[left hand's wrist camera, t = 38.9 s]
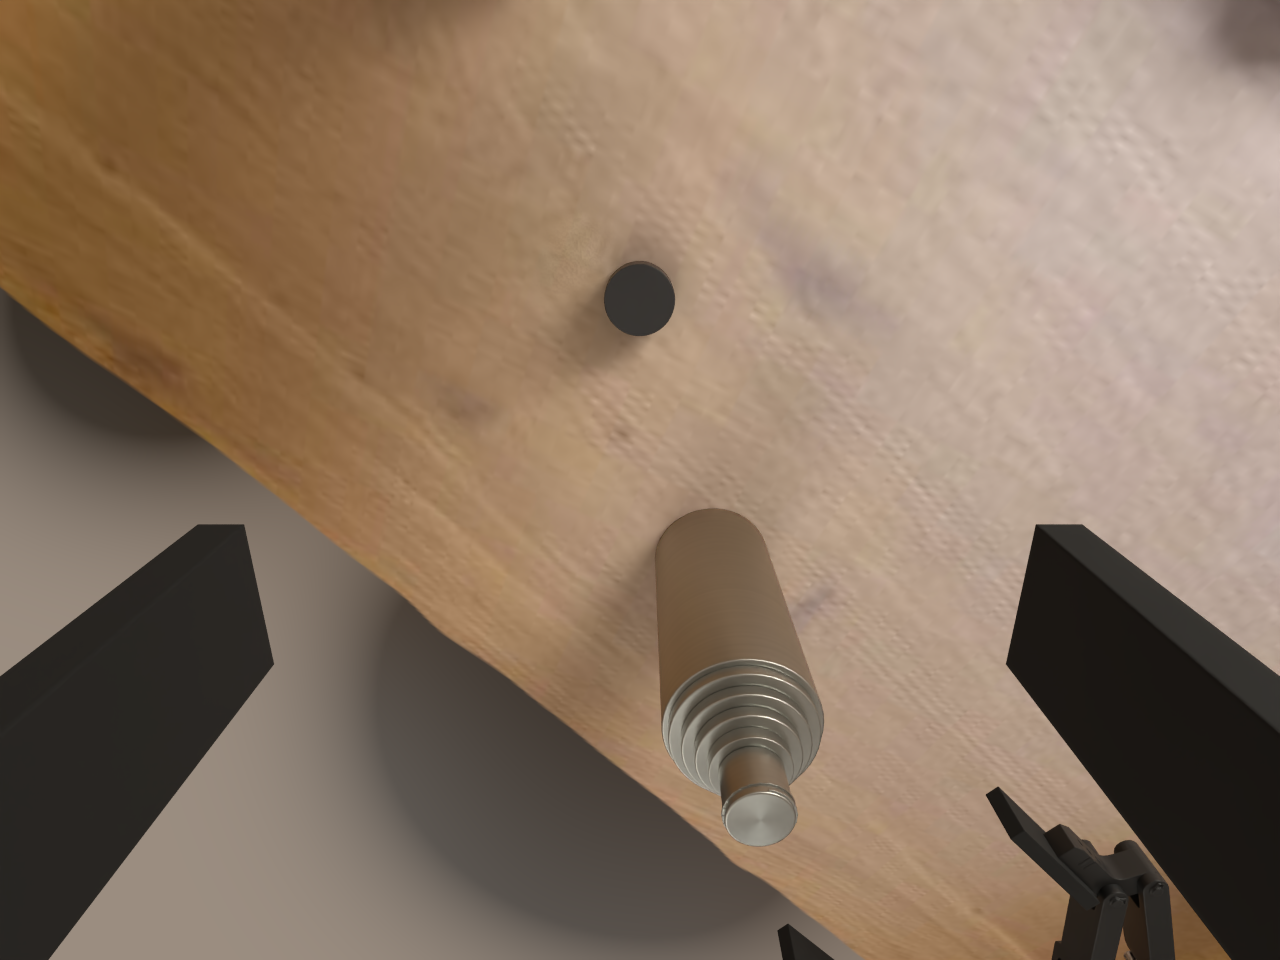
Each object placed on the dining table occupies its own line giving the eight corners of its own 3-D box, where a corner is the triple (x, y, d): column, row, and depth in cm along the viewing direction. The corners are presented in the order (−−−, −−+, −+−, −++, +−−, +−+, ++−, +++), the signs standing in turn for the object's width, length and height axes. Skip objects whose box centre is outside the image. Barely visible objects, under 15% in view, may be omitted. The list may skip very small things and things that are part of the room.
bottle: (743, 620, 56) (811, 907, 34) (640, 590, 55) (640, 865, 33) (784, 527, 53) (888, 773, 31) (676, 494, 52) (703, 723, 30)
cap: (618, 251, 46) (617, 253, 44) (683, 275, 46) (685, 278, 45) (596, 317, 47) (594, 322, 46) (659, 339, 48) (660, 345, 46)
